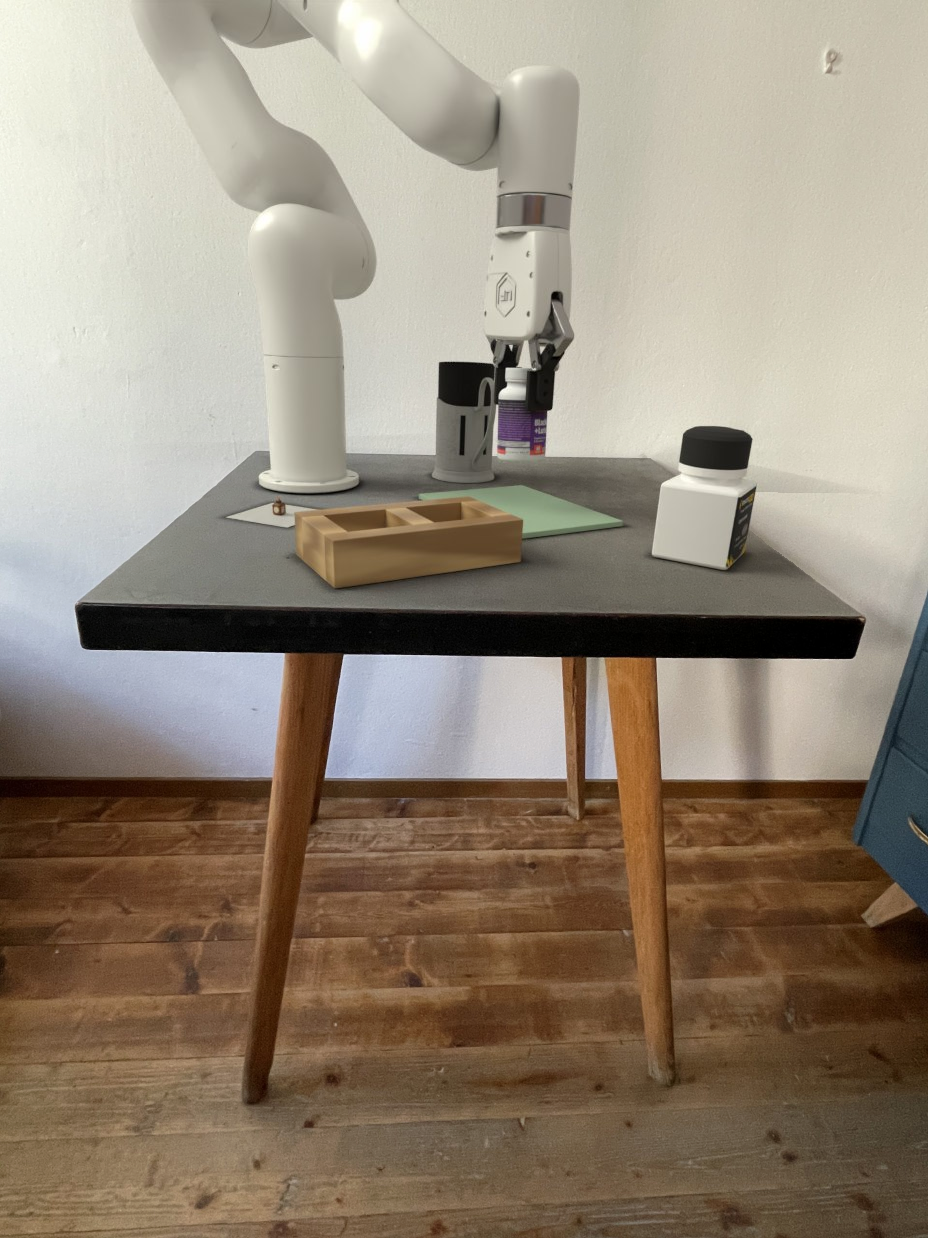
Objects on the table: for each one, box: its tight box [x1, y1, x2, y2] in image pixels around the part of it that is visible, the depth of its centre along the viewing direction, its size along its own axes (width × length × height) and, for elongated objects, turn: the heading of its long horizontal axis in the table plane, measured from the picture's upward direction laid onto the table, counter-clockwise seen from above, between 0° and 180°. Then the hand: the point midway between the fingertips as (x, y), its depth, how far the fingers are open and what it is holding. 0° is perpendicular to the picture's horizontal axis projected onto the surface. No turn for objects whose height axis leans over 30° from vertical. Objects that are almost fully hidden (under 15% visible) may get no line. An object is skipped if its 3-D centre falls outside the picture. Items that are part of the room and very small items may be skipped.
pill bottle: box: [496, 367, 548, 463], centre depth 81 cm, size 5×5×10 cm
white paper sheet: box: [225, 496, 318, 528], centre depth 80 cm, size 8×8×2 cm
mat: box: [418, 484, 624, 540], centre depth 85 cm, size 20×15×1 cm
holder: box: [294, 496, 523, 589], centre depth 66 cm, size 10×18×4 cm, turn 119°
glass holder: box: [431, 361, 497, 484], centre depth 98 cm, size 9×14×15 cm, turn 21°
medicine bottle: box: [651, 425, 758, 571], centre depth 69 cm, size 7×7×12 cm
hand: (522, 405), depth 81 cm, fingers closed on pill bottle, 5 cm apart
